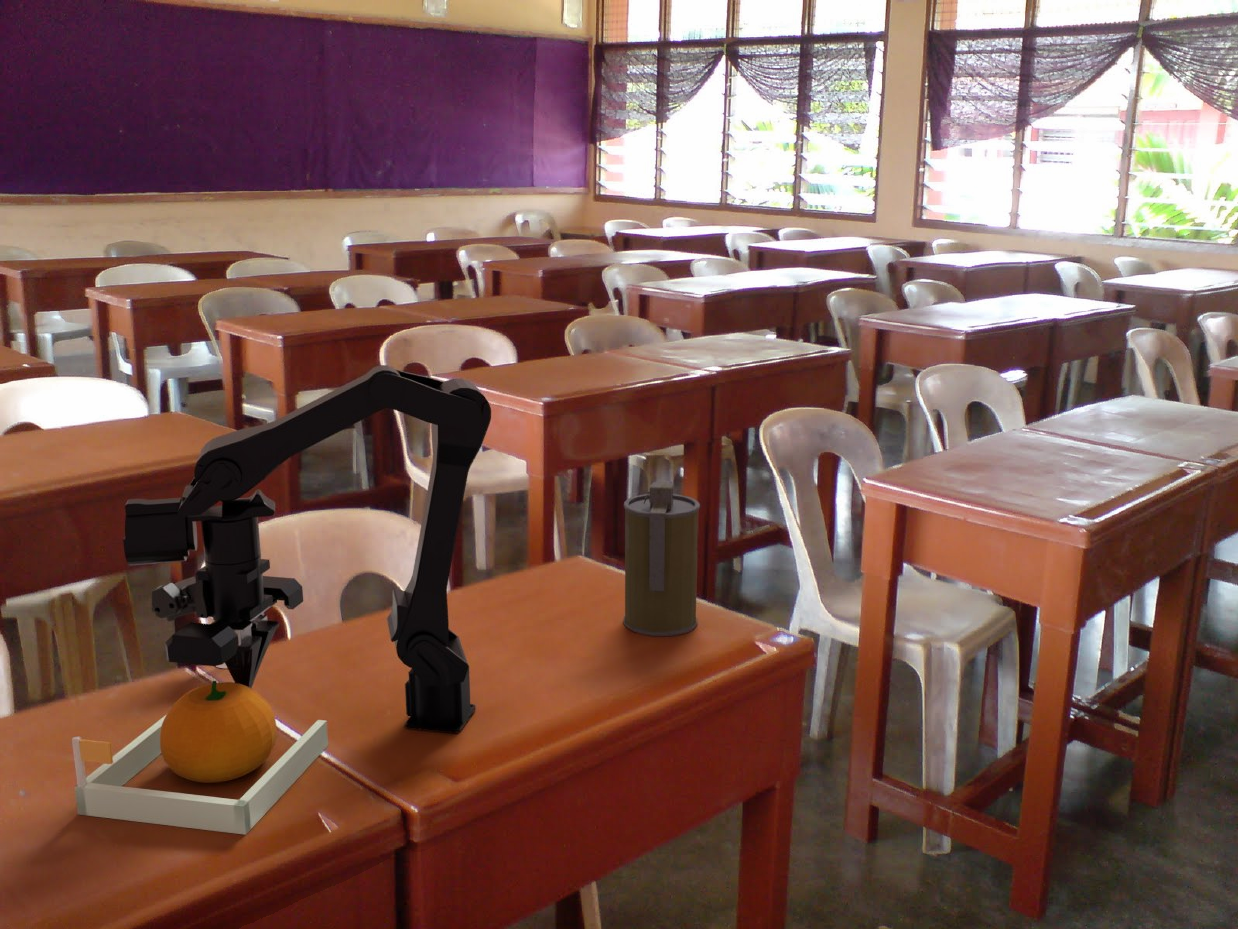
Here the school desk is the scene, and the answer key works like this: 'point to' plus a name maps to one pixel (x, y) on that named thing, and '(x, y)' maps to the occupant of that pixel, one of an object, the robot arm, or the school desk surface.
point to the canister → (661, 562)
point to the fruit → (218, 732)
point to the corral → (177, 809)
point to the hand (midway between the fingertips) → (244, 690)
